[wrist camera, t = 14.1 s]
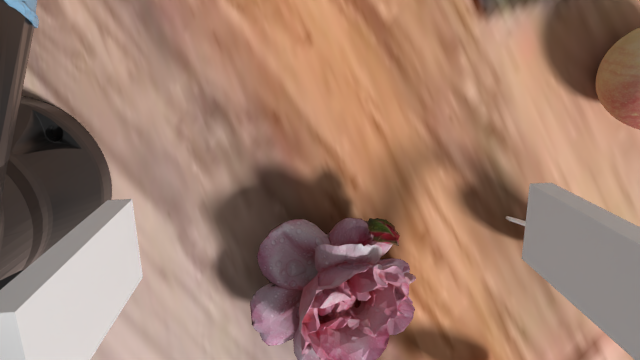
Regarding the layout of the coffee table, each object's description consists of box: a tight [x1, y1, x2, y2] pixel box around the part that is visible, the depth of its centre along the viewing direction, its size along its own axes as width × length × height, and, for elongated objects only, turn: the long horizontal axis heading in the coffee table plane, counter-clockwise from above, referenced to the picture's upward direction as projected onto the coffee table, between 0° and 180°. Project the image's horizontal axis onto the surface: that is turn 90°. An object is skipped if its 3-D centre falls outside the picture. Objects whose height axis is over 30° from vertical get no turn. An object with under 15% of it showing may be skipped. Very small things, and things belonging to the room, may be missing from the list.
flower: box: [250, 218, 416, 360], centre depth 41 cm, size 15×15×10 cm
